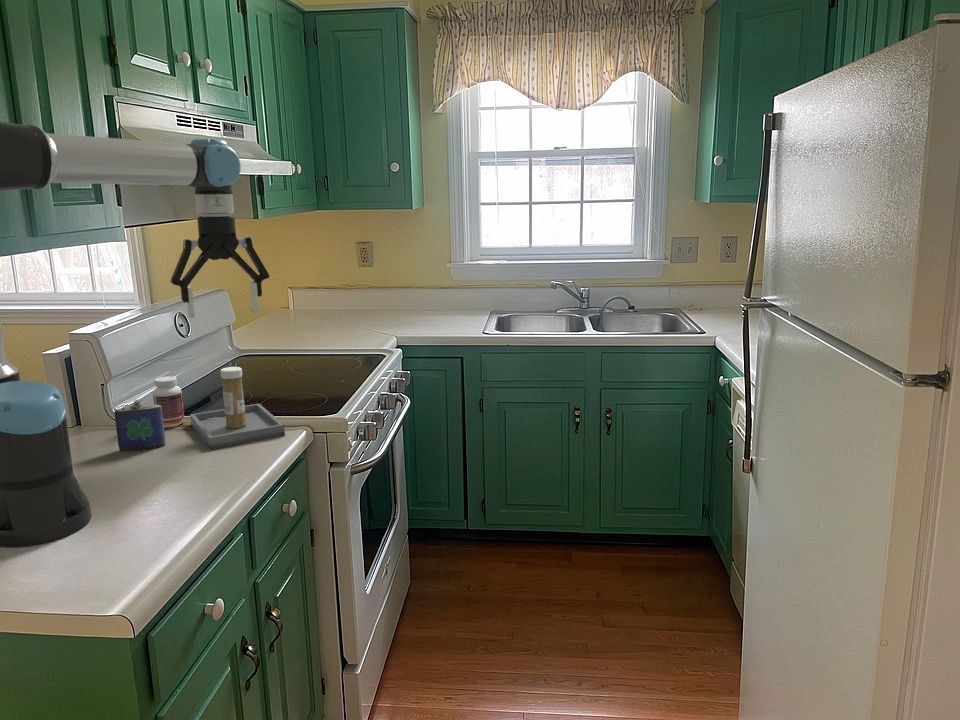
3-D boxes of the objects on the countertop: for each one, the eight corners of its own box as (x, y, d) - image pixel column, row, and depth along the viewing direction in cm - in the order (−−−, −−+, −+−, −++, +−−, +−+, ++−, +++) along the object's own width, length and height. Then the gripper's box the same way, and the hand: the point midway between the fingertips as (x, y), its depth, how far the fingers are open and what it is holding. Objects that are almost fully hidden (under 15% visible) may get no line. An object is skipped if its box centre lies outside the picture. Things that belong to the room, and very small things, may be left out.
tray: (210, 449, 160) (209, 438, 159) (191, 424, 177) (190, 414, 176) (285, 435, 168) (284, 424, 167) (259, 413, 185) (259, 403, 184)
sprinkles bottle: (249, 426, 171) (244, 369, 168) (228, 430, 169) (223, 371, 166) (243, 421, 175) (238, 365, 172) (223, 425, 173) (217, 367, 169)
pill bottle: (190, 422, 178) (185, 377, 175) (167, 430, 173) (162, 383, 170) (173, 418, 181) (168, 374, 179) (150, 425, 176) (145, 380, 174)
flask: (166, 443, 164) (160, 395, 162) (166, 447, 162) (160, 399, 159) (119, 449, 161) (112, 400, 158) (118, 453, 158) (111, 404, 156)
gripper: (155, 217, 151) (166, 322, 156) (279, 214, 164) (285, 311, 168) (149, 216, 157) (160, 317, 162) (269, 213, 170) (275, 307, 175)
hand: (224, 314), depth 165 cm, fingers open, 13 cm apart
